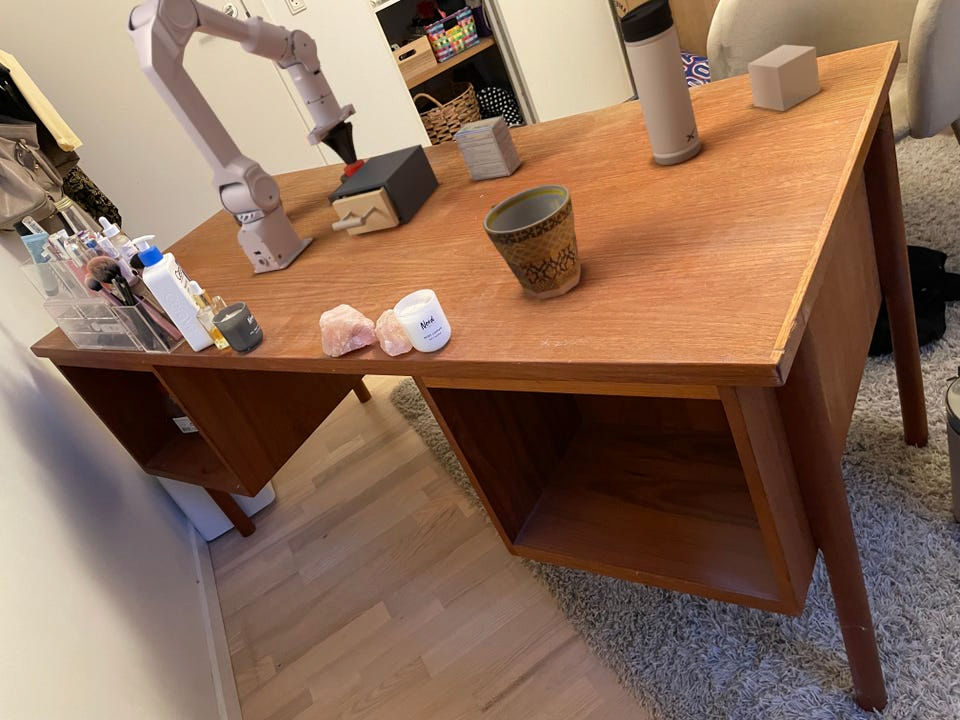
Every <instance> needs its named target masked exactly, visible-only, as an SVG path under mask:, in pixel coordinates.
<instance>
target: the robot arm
mask: <svg viewBox="0 0 960 720" xmlns="http://www.w3.org/2000/svg"><path fill="white" fill-rule="evenodd" d="M125 32H126V34H127V35H128V37H129V38H130V39H131V41H132V43H133V44H134V47H135V51H136V54H137V58H138V61H139V65H140V68H141V70H142V72H143V74H144V76H145V77H146V78H147V79H148V81H149V82H150V84H151V85H152V86H153V88H154V89H155V91H156V92H157V94H158V96H159V97H160V98H161V100H162V101H163V102H164V103H165V105H166V106H167V108H168V109H169V111H170V112H171V113H172V114H173V116H174V117H175V119H176V120H177V122H178V123H179V125H180V126H181V127H182V128H183V130H184V131H185V133H186V134H187V135H188V137H189V138H190V140H191V141H192V142H193V144H194V145H195V147H196V149H198V151H199V152H200V154H201V156H202V157H203V158H204V159H205V161H206V162H207V164H208V165H209V167H210V168H211V169H212V170H213V175H212V180H211V185H212V186H213V188H214V190H215V191H216V194H217V196H218V200H219V203H220V205H221V207H222V208H223V209H224V211H225V212H227V213H229V214H230V215H232V216H233V215H236V216H237V217H238V219H239V220H240V221H242V222H243V224H242V227H240V230H239V231H238V233H237V236H236V237H237V242H238V244H239V246H240V248H241V249H242V251H243V252H244V254H245V256H246V257H247V259H248V260H249V261H250V263H251V264H252V266H253V267H254V270H253V272H254V274H259V273H260V274H261V273H265V272H271V271H276V270H283V269H286V268H288V267H289V265H290V264H291V263H292V262H293V261H294V260H295V259H296V258H297V257H298V256H299V255H300V254H301V253H302V252H303V251H304V250H305V249H306V248H307V247H308V246H309V245H310V244H311V243H312V242H313V241H314V239H313V238H312V237H309V238H304V239H301V237H300V235H299V233H298V232H297V230H296V229H295V227H294V225H293V223H292V222H291V221H290V219H289V217H288V215H287V214H286V212H285V209H284V210H283V209H282V207H281V205H280V204H281V202H280V198H281V190H280V186H279V184H278V181H277V180H276V179H275V178H274V177H273V176H272V175H271V174H269V173H268V172H266V171H265V170H264V169H263V167H262V165H260V163H259V162H257V161H256V160H254V159H252V158H250V157H248V156H246V155H244V154H243V153H242V152H241V149H240V148H239V147H238V145H237V144H236V142H235V141H234V140H233V138H232V136H231V135H230V134H229V132H228V131H227V129H226V128H225V127H224V125H223V124H222V122H221V121H220V119H219V118H218V116H217V114H216V113H215V112H214V110H213V108H212V107H211V106H210V104H209V102H208V101H207V100H206V99H205V97H204V95H203V93H202V92H201V91H200V89H199V88H198V86H197V85H196V84H195V82H194V80H193V79H192V78H191V76H190V75H189V73H188V71H187V70H186V69H185V67H184V65H183V62H184V57H185V52H186V51H185V50H186V47H187V45H188V43H189V42H190V40H191V38H192V36H193V34H194V33H196V32H197V33H200V34H201V33H202V34H206V35H209V36H213V37H218V38H221V39H225V40H229V41H233V42H237V43H239V44H240V46H241V48H242V50H244V52H246V53H248V54H251V55H255V56H259V57H262V58H263V59H267V60H271V61H273V62H274V64H275V65H276V66H277V67H278V68H279V69H281V70H286V71H287V73H288V75H289V77H290V79H291V80H292V82H293V84H294V86H295V88H296V90H297V92H298V93H299V96H300V97H301V99H302V101H303V103H304V105H305V108H306V109H307V111H308V113H309V115H310V117H311V118H312V120H313V123H314V124H315V126H314V127H313V129H312V130H311V131H310V133H308V134H307V135H306V139H307V140H308V142H309V145H310V146H311V147H312V146H313V147H314V146H316V145H320V143H323V144H324V145H326V146H327V147H328V148H330V149H331V150H332V151H333V152H334V153H336V154H337V156H338V157H339V158H340V159H341V160H342V161H343V162H344V163H345V164H346V166H347V165H350V164H354V163H355V162H356V161H357V160H358V157H357V152H356V148H355V144H354V136H353V133H354V132H353V129H354V128H353V127H354V126H353V122H352V121H347V122H345V121H346V120H348V119H349V118H350V117H351V116H354V115H355V114H356V113H357V111H356V109H355V107H354V105H353V103H349V104H346V105H343V106H342V107H341V106H340V104H339V102H338V100H337V98H336V97H335V94H334V92H333V90H332V88H331V86H330V84H329V82H328V80H327V79H326V76H325V74H324V71H323V70H322V68H321V66H322V65H321V61H320V59H319V57H318V47H317V44H316V40H315V39H314V38H313V39H312V37H311V36H310V35H309V33H307V32H305V31H303V30H301V29H294V30H291V31H290V30H289V29H287V28H286V26H283V25H276V24H274V23H270V22H267V21H265V20H264V17H262V16H260V15H255V16H250V17H247V18H246V19H245V20H242V19H239V18H236V17H234V16H232V15H230V14H227V13H225V12H223V11H220V10H218V9H216V8H214V7H211V6H209V5H207V4H204V3H202V2H200V1H198V0H146V2H144V3H141V4H139V5H135V6H134V7H133V8H131V10H130V11H129V14H128V17H127V22H126V28H125Z"/></svg>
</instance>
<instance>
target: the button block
mask: <svg viewBox="0 0 960 720" xmlns="http://www.w3.org/2000/svg"><path fill="white" fill-rule="evenodd" d="M364 162H365V163H366V162H367V161H364ZM349 178H350V177H347V175H346V173H345V172H343V174H341V176H340V182H341V184H340V185H339V186H338V187H337V188H335V190H333V192H332V193H331V194H330V195H329V196H327V199H328V201H329V203H330V205H331V206H333V205H332V203H333V202H335V201H336V200H337V199H336V197H335V195H334V193H335V192H336V191H337V190H338V189H339V188H340V187H341V186H342V185H343V184H344V183H345V182H346V181H347V180H348V179H349Z"/></svg>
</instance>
